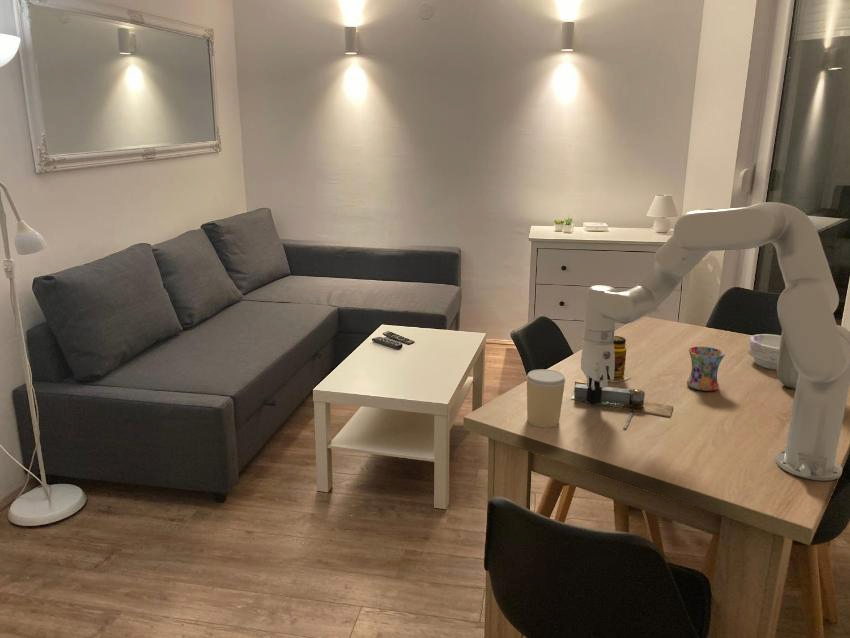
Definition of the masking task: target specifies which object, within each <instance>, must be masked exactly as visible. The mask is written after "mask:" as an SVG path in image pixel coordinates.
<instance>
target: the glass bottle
mask: <svg viewBox="0 0 850 638" xmlns="http://www.w3.org/2000/svg"><path fill="white" fill-rule="evenodd" d="M780 336H781V340H780V348H779V355H778V362H777V370H776V376H777V378H778V380H779V381H780V383H781V384H782V385H784V386H785V387H786V388H789V389H790V388H791V389H795V390H796V384H797V379H798V375H799V373H798V372H797V370H796V369H795V367H794V365H793V363H792V360H791V357H790V354H789V351H788V347H787V344H786V341H785V338H784V334H783V331H782V330H781V335H780Z"/></svg>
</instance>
